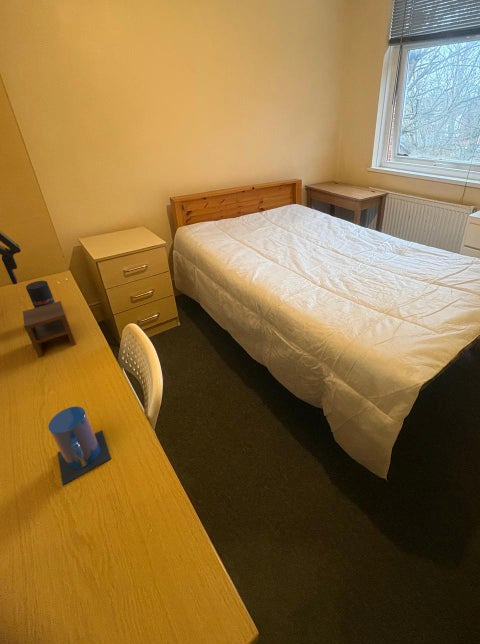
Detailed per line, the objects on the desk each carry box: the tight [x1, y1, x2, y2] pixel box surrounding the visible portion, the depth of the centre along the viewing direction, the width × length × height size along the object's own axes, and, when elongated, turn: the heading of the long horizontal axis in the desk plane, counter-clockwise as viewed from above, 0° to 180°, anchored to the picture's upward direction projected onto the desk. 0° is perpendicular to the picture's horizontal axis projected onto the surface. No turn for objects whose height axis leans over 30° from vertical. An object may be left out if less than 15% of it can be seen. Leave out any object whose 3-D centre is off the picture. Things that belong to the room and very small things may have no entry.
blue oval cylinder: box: [47, 406, 100, 469], centre depth 68 cm, size 9×6×12 cm
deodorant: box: [25, 280, 56, 308], centre depth 113 cm, size 6×6×15 cm
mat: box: [57, 430, 112, 486], centre depth 72 cm, size 9×9×1 cm
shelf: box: [22, 300, 77, 358], centre depth 103 cm, size 10×10×12 cm
